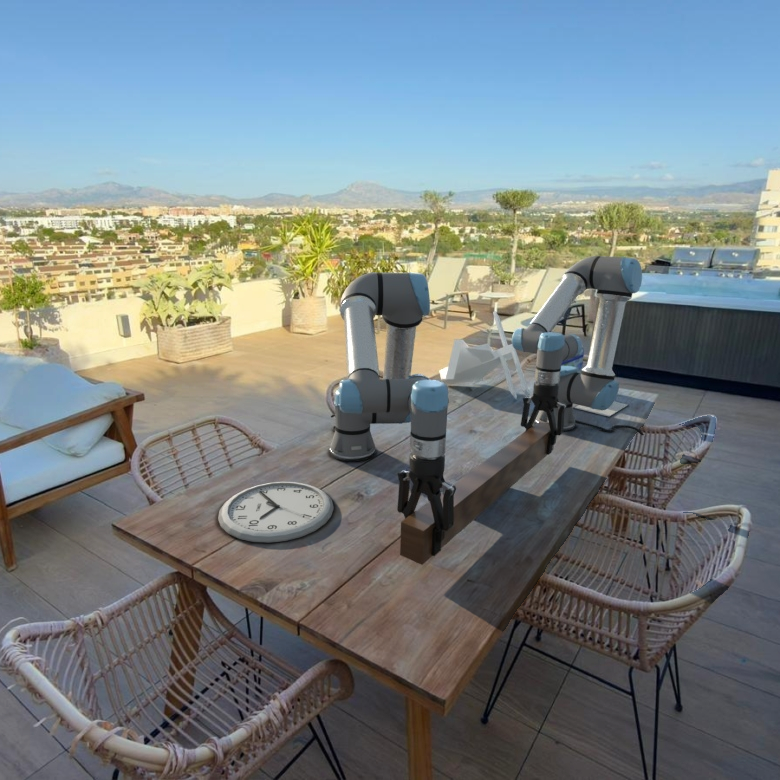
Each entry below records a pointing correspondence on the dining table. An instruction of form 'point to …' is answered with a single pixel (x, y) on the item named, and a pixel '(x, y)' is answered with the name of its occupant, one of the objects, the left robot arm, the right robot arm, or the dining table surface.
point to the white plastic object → (482, 362)
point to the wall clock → (275, 512)
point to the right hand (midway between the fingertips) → (539, 450)
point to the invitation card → (608, 412)
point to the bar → (476, 491)
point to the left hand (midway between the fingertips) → (423, 547)
